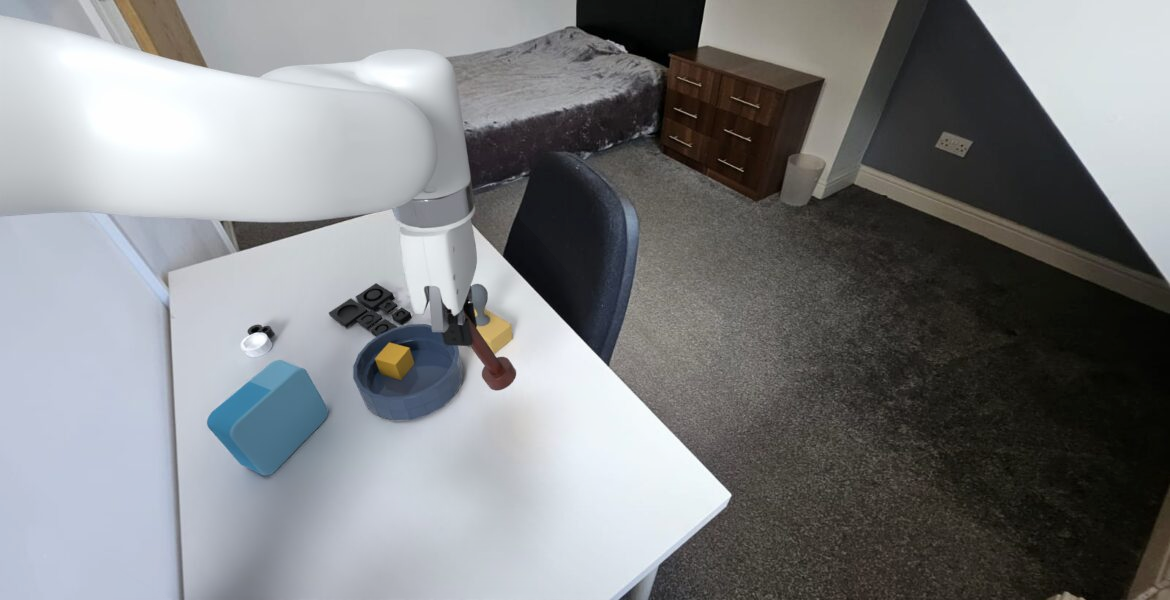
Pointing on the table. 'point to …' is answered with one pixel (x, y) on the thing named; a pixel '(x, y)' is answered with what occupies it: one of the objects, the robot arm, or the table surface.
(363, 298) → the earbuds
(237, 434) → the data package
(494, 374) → the red capped peg
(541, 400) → the table surface
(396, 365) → the block
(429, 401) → the bowl
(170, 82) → the robot arm
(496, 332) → the rubber stamp
